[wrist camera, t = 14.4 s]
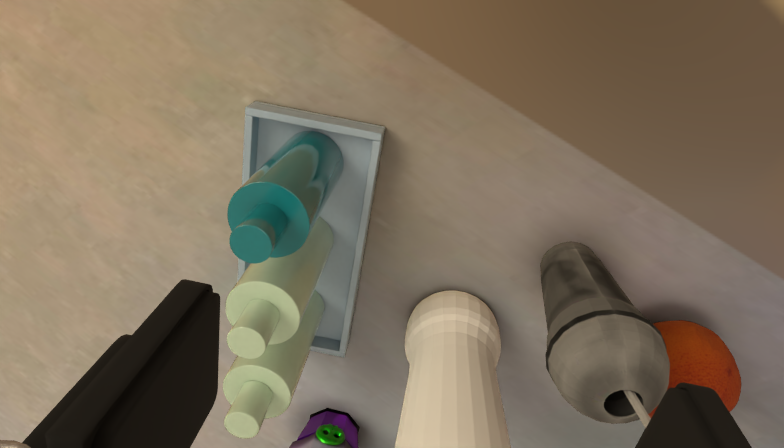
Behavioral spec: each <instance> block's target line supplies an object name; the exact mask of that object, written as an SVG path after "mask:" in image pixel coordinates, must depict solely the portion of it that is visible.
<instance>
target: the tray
mask: <svg viewBox="0 0 784 448" xmlns="http://www.w3.org/2000/svg"><path fill="white" fill-rule="evenodd" d="M302 131H317V132H320V133H323V134H325V135H327V136H328V137H330V138H331V139H332V140H333V141H334V142H335V143H336V144H337V145H338V147H339V148H340V151H341V153H342V156H343V160H344V168H343V172H342V175H341V177H340V179H339V181H338V183H337V184H336V186H335V188H334V190H333V192H332V194H331V195H330V197H329V199H328V201H327V203H326V205H325V206H324V208H323V210H322V212H321V214H320V216H319V217H321V218H322V219H323V220H325V221H326V223H327V224H328V225H329V226H330V228H331V230H332V233H333V237H334V245H333V249H332V251H331V253H330V256H329V258H328V260H327V263H326V265H325V267H324V270H323V272H322V274H321V277H320V279H319V281H318V284H317V286H316V288H315V290H316V291H317V292H318V293H319V295H320V296H321V298H322V300H323V302H324V308H325V309H324V315H323V317H322V320H321V323H320V325H319V328H318V331H317V333H316V336H315V339H314V341H313V344H312V347H311V349H310V351H315V352H320V353H324V354H329V355H334V356H339V357H345V355H346V351H347V347H348V344H349V338H350V332H351V327H352V321H353V315H354V309H355V303H356V297H357V291H358V285H359V279H360V274H361V268H362V262H363V256H364V250H365V244H366V238H367V232H368V226H369V221H370V215H371V209H372V203H373V197H374V191H375V185H376V179H377V173H378V168H379V162H380V156H381V150H382V144H383V138H384V132H385V127H384V126H379V125H374V124H369V123H364V122H359V121H354V120H349V119H344V118H339V117H334V116H329V115H324V114H319V113H313V112H308V111H303V110H298V109H293V108H288V107H283V106H278V105H273V104H268V103H263V102H258V101H254V102H253V103H251V104H250V105H248V106H247V107H245V128H244V150H243V173H242V185H243V184H244V183H245V182H246V181H247V180H248V179H249V178H250V177H251V176H252V175H253V174H254V173H255V172H256V171H257V170H258V169H259V168H260V167H261V166H262V165H263V164H264V163H265V162H266V161H267V160H268V159H269V158H270V157H271V156H272V155H273V154H274V153H275V152H276V151H277V150H278V149H279V148H280V147H281V146H282V145H283V144H284V143H285V142H286V141H287V140H288V139H289V138H290V137H291V136H293V135H294V134H296V133H299V132H302ZM249 265H250V263H247V262H245V261H243V260H241V259H239V262H238V281H239V279H240V278H241V276H242V275H243V273H244V272H245V271H246V269H247V268H248V266H249Z"/></svg>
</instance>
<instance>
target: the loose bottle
mask: <svg viewBox="0 0 784 448" xmlns="http://www.w3.org/2000/svg"><path fill="white" fill-rule="evenodd" d="M343 168H344V160H343V156H342V153H341V151H340V148H339V147H338V145H337V144H336V143H335V142H334V141H333V140H332V139H331V138H330V137H328V136H327V135H325V134H323V133H320V132H317V131H302V132H299V133H296V134H294V135H293V136H291V137H290V138H289V139H288V140H287V141H286V142H285V143H284V144H283V145H282V146H281V147H280V148H279V149H278V150H277V151H276V152H275V153H274V154H273V155H272V156H271V157H270V158H269V159H268V160H267V161H266V162H265V163H264V164H263V165H262V166H261V167H260V168H259V169H258V170H257V171H256V172H255V173H254V174H253V175H252V176H251V177H250V178H249V179H248V180H247V181H246V182H245V183H244V184H243V185H242V186H241V187H240V188H239V190H238V191H237V192H236V193H235V194H234V195H233V197H232V198H231V200H230V203H229V206H228V222H229V226H230V228H231V231H232V233H231V235H230V247H231V249H232V251H233V253H234V254H235V255H236V256H237V257H238V258H239V259H241V260H243V261H245V262H247V263H253V264H256V263H261V262H264V261H265V260H267V259H268V258H269V257H271V258H278V257H284V256H288V255H290V254H292V253H294V252H296V251H297V250H299V249H300V248H301V247H302V246H303V244H304V243H305V241H306V239H307V238H308V236H309V234H310V232H311V230H312V228H313V227H314V225H315V223H316V221H317V219H318V217H319V216H320V214H321V212H322V210H323V208H324V206H325V205H326V203H327V201H328V199H329V197H330V195H331V194H332V192H333V190H334V188H335V186H336V184H337V183H338V181H339V179H340V177H341V175H342V172H343Z"/></svg>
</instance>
